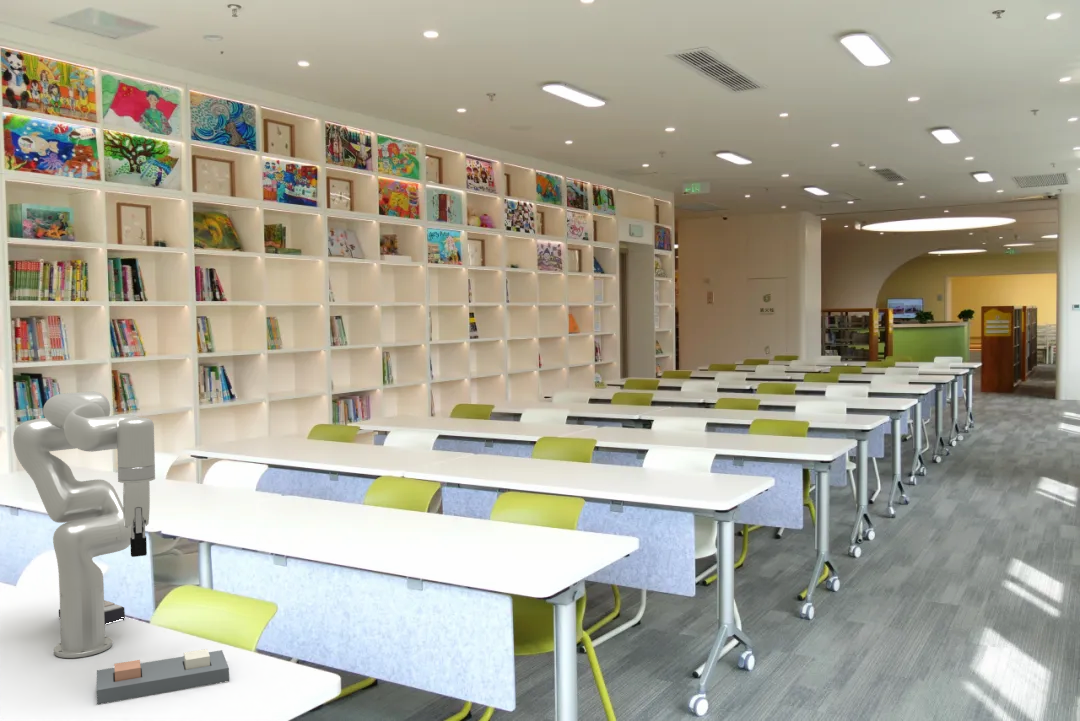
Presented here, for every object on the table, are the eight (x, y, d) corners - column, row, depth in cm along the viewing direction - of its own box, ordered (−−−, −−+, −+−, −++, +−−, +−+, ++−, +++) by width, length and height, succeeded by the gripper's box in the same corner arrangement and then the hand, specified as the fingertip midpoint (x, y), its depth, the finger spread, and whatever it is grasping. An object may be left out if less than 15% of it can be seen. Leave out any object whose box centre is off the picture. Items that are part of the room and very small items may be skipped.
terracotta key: (114, 681, 192) (114, 663, 192) (140, 677, 194) (139, 659, 194) (115, 690, 188) (114, 671, 187) (141, 685, 190) (140, 667, 190)
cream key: (184, 670, 198) (183, 652, 198) (207, 666, 201) (207, 648, 200) (186, 678, 194) (185, 660, 194) (210, 673, 196) (209, 656, 196)
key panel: (97, 683, 194) (96, 670, 194) (222, 662, 205) (222, 650, 205) (96, 704, 183) (96, 690, 183) (229, 681, 195) (228, 667, 194)
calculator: (99, 596, 246) (124, 604, 236) (100, 612, 246) (125, 620, 236) (57, 606, 238) (82, 615, 228) (58, 622, 238) (83, 631, 228)
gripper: (117, 470, 202) (119, 549, 203) (118, 480, 188) (120, 565, 189) (153, 467, 205) (155, 546, 206) (156, 477, 192) (159, 561, 193)
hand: (138, 555), depth 198 cm, fingers closed
